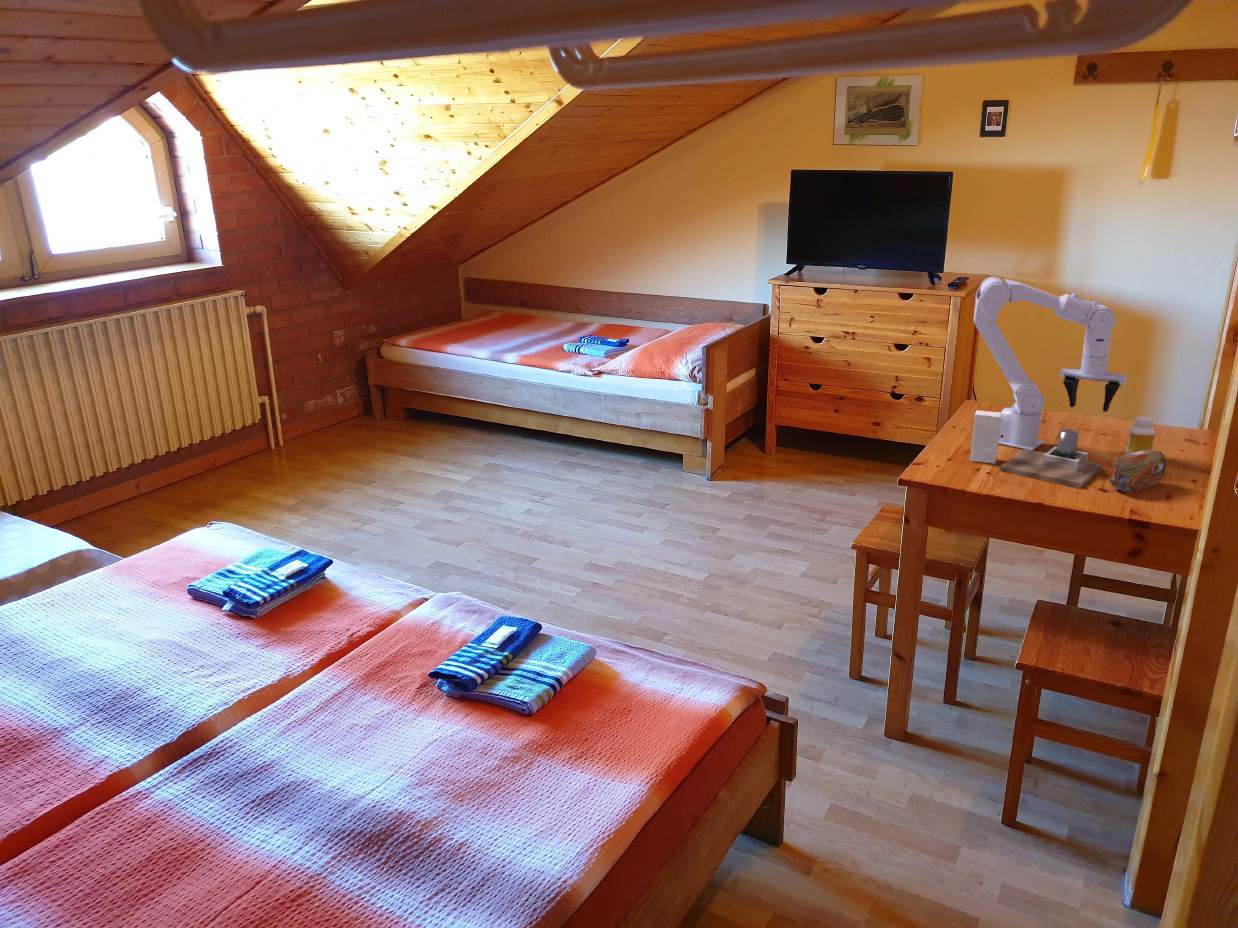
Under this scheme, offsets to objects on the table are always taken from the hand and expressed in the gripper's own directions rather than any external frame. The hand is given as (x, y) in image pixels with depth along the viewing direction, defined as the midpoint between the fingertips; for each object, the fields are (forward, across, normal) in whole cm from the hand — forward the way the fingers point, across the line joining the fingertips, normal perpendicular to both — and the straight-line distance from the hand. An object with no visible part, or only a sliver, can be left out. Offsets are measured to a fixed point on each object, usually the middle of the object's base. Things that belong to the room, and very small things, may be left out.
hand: (1088, 408), depth 228 cm
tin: (+11, +17, -21) cm, 29 cm away
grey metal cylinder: (+9, +1, -18) cm, 21 cm away
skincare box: (+10, -16, -24) cm, 31 cm away
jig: (+10, -1, -22) cm, 24 cm away
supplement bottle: (+11, +12, +2) cm, 16 cm away
